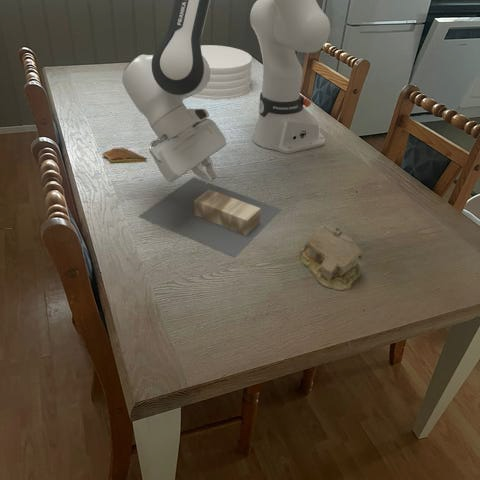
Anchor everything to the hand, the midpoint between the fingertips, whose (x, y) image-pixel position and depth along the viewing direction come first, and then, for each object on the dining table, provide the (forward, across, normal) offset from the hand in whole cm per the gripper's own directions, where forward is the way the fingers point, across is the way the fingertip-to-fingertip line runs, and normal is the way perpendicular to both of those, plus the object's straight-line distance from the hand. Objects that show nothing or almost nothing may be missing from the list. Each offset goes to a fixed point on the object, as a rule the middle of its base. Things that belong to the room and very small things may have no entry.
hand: (212, 180), depth 104 cm
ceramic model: (+28, -2, -15) cm, 32 cm away
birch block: (+3, 0, +7) cm, 7 cm away
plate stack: (-26, +73, +40) cm, 87 cm away
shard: (-18, +10, +32) cm, 38 cm away
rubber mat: (+7, 0, +7) cm, 9 cm away
